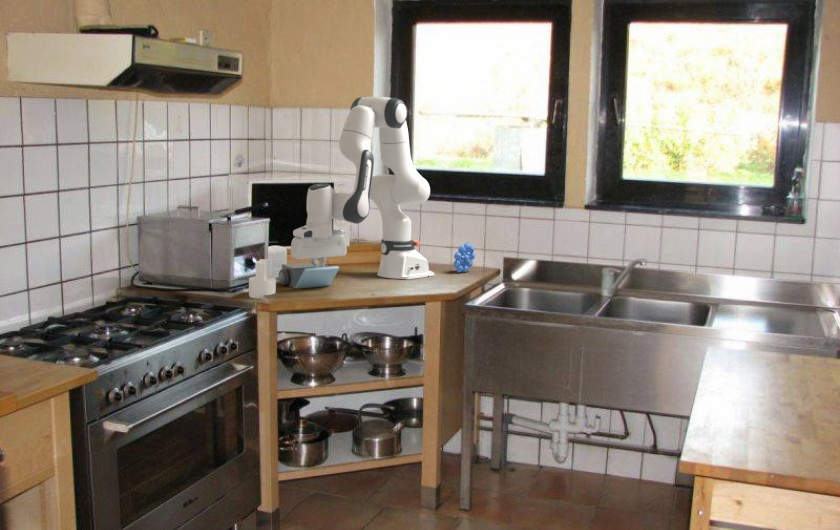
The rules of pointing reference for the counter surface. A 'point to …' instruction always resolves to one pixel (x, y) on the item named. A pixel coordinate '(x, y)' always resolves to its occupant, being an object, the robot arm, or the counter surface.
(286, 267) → the camera body
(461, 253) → the grapes
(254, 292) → the base with upright slab
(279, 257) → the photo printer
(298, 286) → the side door
